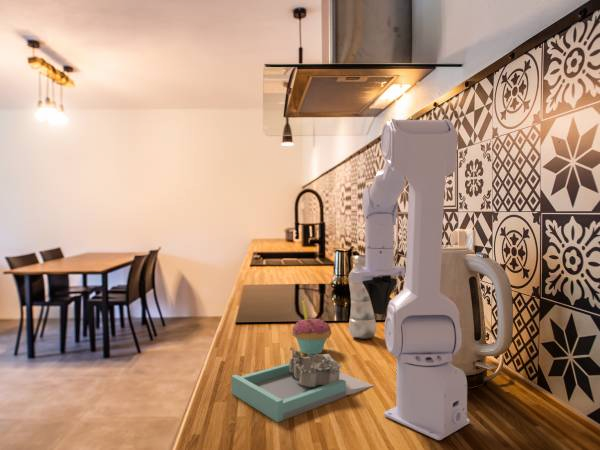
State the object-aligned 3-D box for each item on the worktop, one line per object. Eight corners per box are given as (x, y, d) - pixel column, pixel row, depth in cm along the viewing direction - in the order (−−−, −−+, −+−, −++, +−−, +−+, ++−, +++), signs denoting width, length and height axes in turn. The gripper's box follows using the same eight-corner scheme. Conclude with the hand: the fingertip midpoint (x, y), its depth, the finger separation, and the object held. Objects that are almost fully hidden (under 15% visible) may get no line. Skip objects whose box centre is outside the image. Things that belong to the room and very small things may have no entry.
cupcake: (297, 359, 89) (297, 301, 89) (288, 346, 97) (287, 294, 97) (336, 355, 91) (336, 299, 91) (323, 343, 100) (323, 292, 99)
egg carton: (286, 368, 79) (288, 345, 79) (325, 369, 81) (327, 347, 81) (298, 387, 69) (301, 361, 69) (343, 388, 70) (345, 363, 70)
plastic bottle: (376, 342, 101) (376, 257, 100) (347, 340, 102) (347, 256, 101) (376, 334, 107) (376, 254, 106) (349, 333, 108) (349, 254, 108)
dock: (374, 390, 75) (374, 368, 75) (277, 427, 62) (277, 401, 62) (324, 369, 85) (324, 350, 85) (231, 398, 72) (231, 375, 72)
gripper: (386, 244, 96) (386, 305, 96) (340, 248, 87) (340, 315, 87) (413, 246, 90) (412, 310, 91) (367, 250, 81) (367, 321, 82)
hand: (379, 313), depth 89 cm, fingers closed
